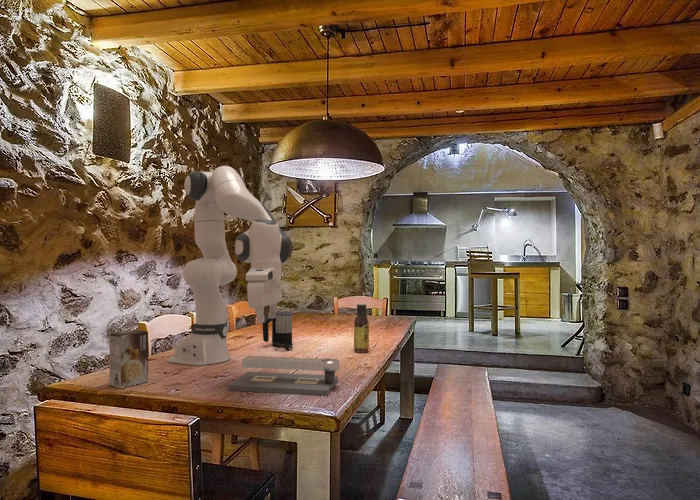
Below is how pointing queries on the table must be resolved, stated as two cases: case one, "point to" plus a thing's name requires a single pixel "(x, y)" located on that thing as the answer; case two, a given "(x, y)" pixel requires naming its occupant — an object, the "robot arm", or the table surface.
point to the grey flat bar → (291, 363)
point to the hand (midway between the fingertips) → (266, 320)
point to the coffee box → (128, 358)
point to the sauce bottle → (361, 330)
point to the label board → (285, 383)
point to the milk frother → (279, 330)
